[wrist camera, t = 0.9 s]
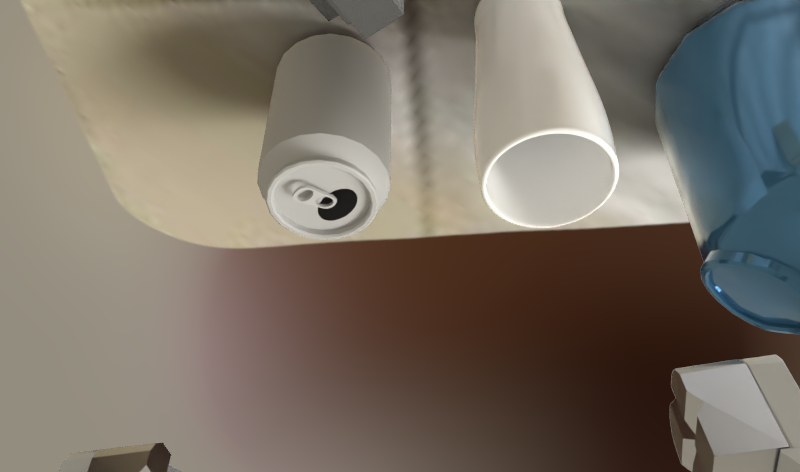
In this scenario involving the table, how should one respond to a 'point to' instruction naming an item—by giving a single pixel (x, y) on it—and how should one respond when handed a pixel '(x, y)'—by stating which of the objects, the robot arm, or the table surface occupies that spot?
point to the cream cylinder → (538, 117)
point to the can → (327, 138)
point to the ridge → (362, 12)
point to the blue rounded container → (740, 155)
